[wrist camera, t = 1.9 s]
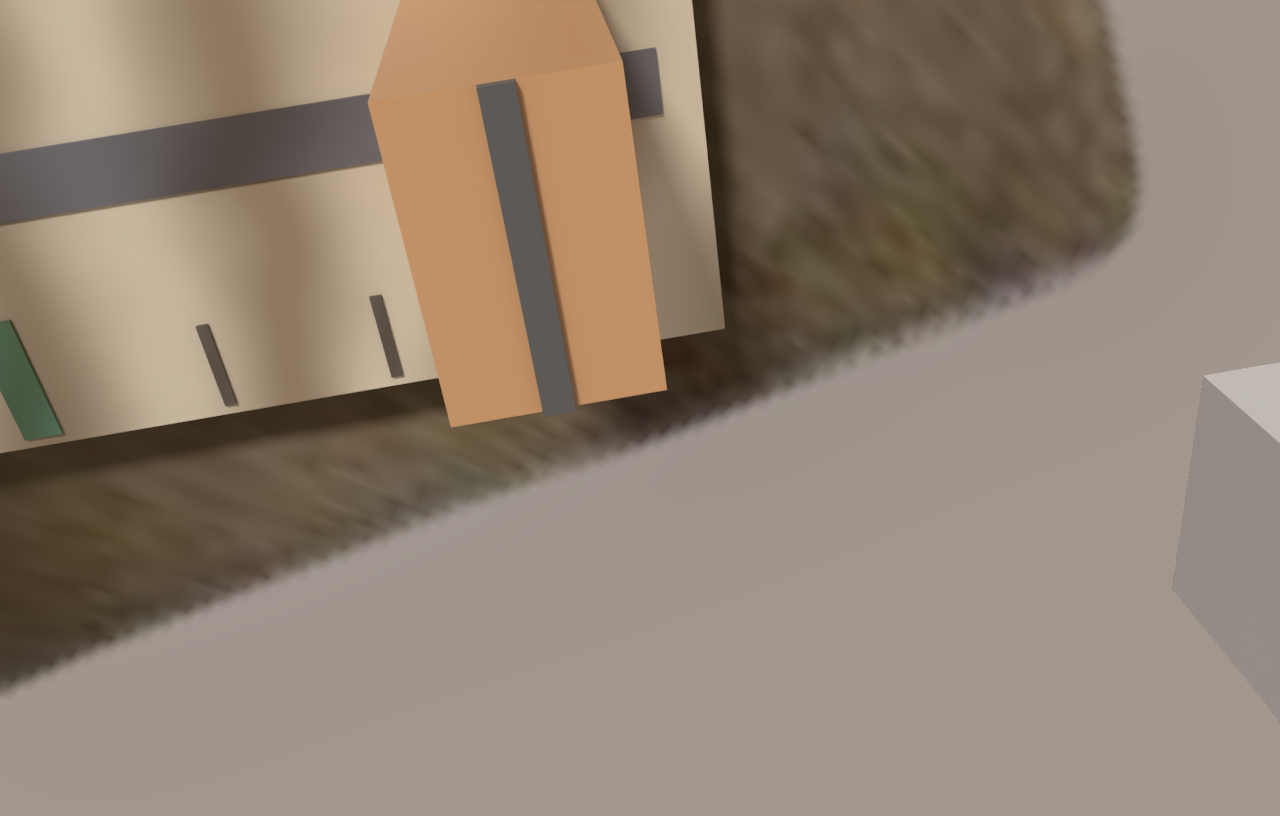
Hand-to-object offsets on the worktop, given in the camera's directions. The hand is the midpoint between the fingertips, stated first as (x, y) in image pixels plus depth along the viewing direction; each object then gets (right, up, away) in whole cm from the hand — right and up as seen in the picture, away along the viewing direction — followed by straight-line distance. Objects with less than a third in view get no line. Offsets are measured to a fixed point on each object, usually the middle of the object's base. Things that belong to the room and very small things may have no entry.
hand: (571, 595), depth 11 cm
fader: (-2, +9, +15) cm, 18 cm away
